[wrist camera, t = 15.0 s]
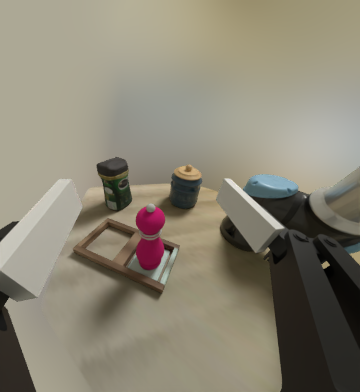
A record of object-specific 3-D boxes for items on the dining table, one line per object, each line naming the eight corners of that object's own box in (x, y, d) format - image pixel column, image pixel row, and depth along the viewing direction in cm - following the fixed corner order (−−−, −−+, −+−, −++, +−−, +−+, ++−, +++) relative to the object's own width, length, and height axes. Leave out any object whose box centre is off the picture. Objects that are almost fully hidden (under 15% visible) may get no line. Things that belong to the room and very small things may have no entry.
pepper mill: (132, 256, 37) (124, 200, 25) (154, 243, 41) (156, 190, 29) (145, 278, 33) (143, 224, 21) (168, 261, 37) (177, 208, 25)
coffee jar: (120, 194, 59) (114, 153, 48) (135, 200, 57) (131, 159, 46) (102, 206, 51) (89, 161, 40) (118, 213, 49) (109, 168, 38)
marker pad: (144, 241, 41) (144, 241, 41) (170, 251, 40) (170, 251, 39) (127, 268, 34) (127, 267, 34) (157, 281, 33) (157, 280, 33)
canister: (177, 189, 69) (182, 156, 58) (200, 198, 65) (209, 165, 54) (163, 201, 59) (166, 164, 49) (189, 213, 55) (198, 175, 45)
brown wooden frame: (108, 222, 45) (107, 218, 44) (178, 249, 41) (179, 245, 40) (74, 252, 36) (72, 248, 34) (161, 293, 31) (162, 290, 30)
